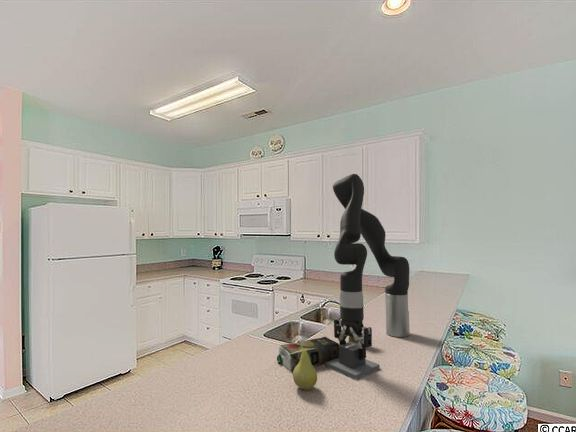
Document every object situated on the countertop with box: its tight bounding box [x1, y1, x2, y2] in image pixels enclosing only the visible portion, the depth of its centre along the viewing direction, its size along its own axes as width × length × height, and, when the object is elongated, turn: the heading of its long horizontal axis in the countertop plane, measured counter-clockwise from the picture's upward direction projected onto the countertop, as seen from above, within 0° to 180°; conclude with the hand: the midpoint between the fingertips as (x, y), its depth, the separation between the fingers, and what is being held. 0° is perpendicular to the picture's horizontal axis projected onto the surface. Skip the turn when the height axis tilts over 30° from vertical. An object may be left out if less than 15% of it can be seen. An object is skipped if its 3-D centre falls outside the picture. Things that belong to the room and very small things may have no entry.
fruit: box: [292, 340, 318, 391], centre depth 86 cm, size 7×8×12 cm
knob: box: [339, 341, 367, 369], centre depth 99 cm, size 6×6×6 cm
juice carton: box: [276, 336, 339, 372], centre depth 105 cm, size 20×10×6 cm, turn 116°
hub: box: [325, 358, 380, 380], centre depth 99 cm, size 12×12×5 cm
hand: (352, 355), depth 99 cm, fingers open, 7 cm apart
